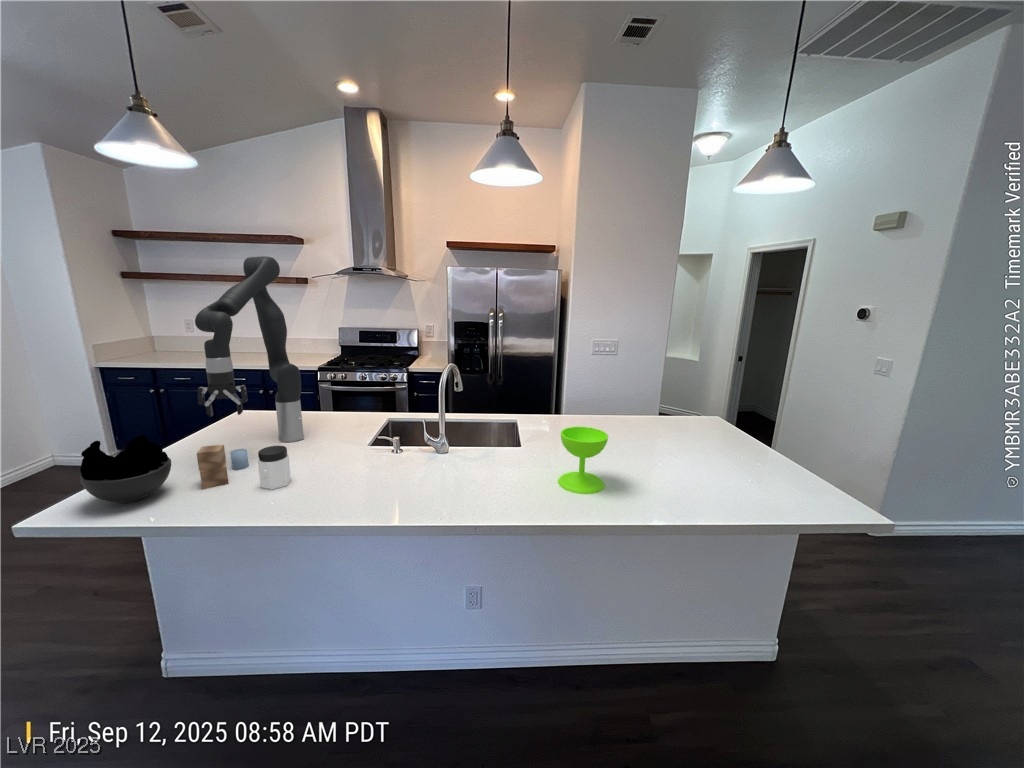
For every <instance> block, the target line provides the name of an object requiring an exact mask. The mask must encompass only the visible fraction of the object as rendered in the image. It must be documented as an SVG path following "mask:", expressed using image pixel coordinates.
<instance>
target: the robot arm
mask: <svg viewBox="0 0 1024 768" xmlns="http://www.w3.org/2000/svg"><path fill="white" fill-rule="evenodd" d="M242 268H243V273H244V277H245V279H244V280H242V281H240V282H238V283H236V284H235V285H233V286H231V287H230V288H229V289H227V290H226V291H225V292H224V293H223V294H222V295H221V296H220V297H219V299H218V300H216V301H214V302H212V303H211V304H209V305H207V306H206V307H204V308H202V309H201V310H200V311H199V312H198V313H197V314H196V316H195V319H194V324H195V326H196V329H198V330H199V331H201V332H204V333H214V334H213V337H212V339H208V340H205V341H204V344H203V347H204V348H203V349H204V354H205V355H204V356H205V371H206V379H207V385H208V386H207V387H205V386H199V387H198V388H197V403H198V405H199V406H204V407H205V411H206V412H205V413H206V415H207V416H208V417H211V418H212V417H213V416H214V410H213V404H212V403H213V402H214V400H215V399H217V400H222V399H224V400H228V399H230V400H232V401H233V402H234V403H236V411H237V413H236V414H237V416H238V415H242V414H243V412H244V406H243V404H244V403H247V402H248V401H249V398H248V397H249V396H248V392H247V387H246V384H242V385H236V383H235V376H234V375H235V374H234V367H233V366H234V365H233V361H232V357H231V349H230V342H231V339H232V334H233V333H232V332H233V326H234V323H233V320H232V317H235V316H236V315H238V314H239V313H240V311H241V310H242V309H243V308H244V307H245V306H246V305H247V304H248V303H249V301H251V299H252V300H253V302H254V307H255V311H256V315H257V319H258V320H257V321H258V324H259V328H260V332H261V335H262V339H263V343H264V346H265V350H266V354H267V360H268V372H269V376H270V377H271V379H272V381H274V382H275V383H277V393H276V394H274V399H275V409H276V421H277V430H278V431H277V432H278V440H279V441H280V442H282V443H293V442H294V443H295V442H298V441H301V440H304V425H303V416H302V404H301V394H302V377H301V371H300V368H299V367H298V366H297V365H295V364H293V363H290V360H289V357H288V354H287V348H286V346H287V338H288V337H287V336H288V328H287V323H286V318H285V314H284V312H283V311H282V309H281V307H279V305H278V304H277V302H275V301H274V300H273V298H272V297H271V295H270V293H269V292H268V288H267V286H268V285H270V284H271V283H273V282H274V281H275V280H276V279H278V277H279V275H280V271H281V268H280V265H279V262H278V261H277V260H276V259H275V258H274V257H271V256H267V255H265V256H261V255H260V256H249V257H246V258H245V259H244V261H243V266H242ZM236 391H238V392H240V395H241V398H240V397H239V396H238V394H237V393H236ZM207 392H208V393H209V394H210V397H208V399H207V401H206V400H205V398H206V397H205V395H206V393H207Z"/></svg>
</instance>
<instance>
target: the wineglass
mask: <svg viewBox="0 0 1024 768" xmlns="http://www.w3.org/2000/svg"><path fill="white" fill-rule="evenodd" d="M608 439H609V434H607V433H606V432H605V431H603V430H601V429H598V428H593V427H589V426H588V427H587V426H570V427H565V428H563V429H561V431H560V440H561V443H562V445H563V447H564V448H565V450H566V451H567V452H568V453H569V454H571V455H572V456H574V457H577V458H579V465H578V471H570V472H566V473H562V474H561V475H560V477H559V478H558V479H557V484H558V486H559V487H560V488H561V489H563V490H565V491H567V492H570V493H575V494H579V495H593V494H598V493H599V492H601V491H603V490H604V488H605V484H604V481H603V480H602V479H601V478H600V477H599V476H597V475H596V474H592V473H590V472H586V471H585V469H586V467H585V466H586V459H590V458H593V457H595V456H597V455H599V454H601V452H602V451H603V450H604V449H605V447H606V445H608Z"/></svg>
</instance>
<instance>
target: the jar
mask: <svg viewBox="0 0 1024 768" xmlns="http://www.w3.org/2000/svg"><path fill="white" fill-rule="evenodd" d="M287 448H288V447H286V446H284V445H271V446H267V447H263V448H261V449H260V450H258V456H257V457H258V460H257V466H258V467H257V468H258V474H259V482H260V483H259V484H260V488H261V489H266V490H271V491H273V490H276V489H280V488H283V487H286V486H288V485H289V483H290V482H291V480H292V477H291V476H292V475H291V466H290V456H289V453H288V449H287Z"/></svg>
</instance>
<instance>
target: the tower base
mask: <svg viewBox="0 0 1024 768" xmlns="http://www.w3.org/2000/svg"><path fill="white" fill-rule="evenodd" d="M226 462H227V461H226ZM226 462H225V464H224V465H223V467H222V468H220V469H211V470H202V471H199V475H200V484H201V489H202V490H206V489H211V488H216V487H220V486H225V485H229V477H228V469H227V463H226Z"/></svg>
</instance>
